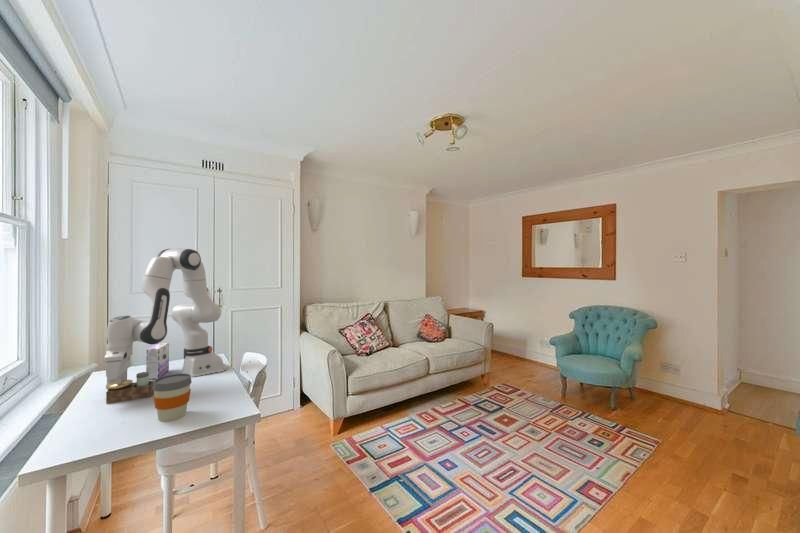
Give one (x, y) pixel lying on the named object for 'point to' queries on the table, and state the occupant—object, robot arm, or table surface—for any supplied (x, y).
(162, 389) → the reusable coffee cup
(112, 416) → the table surface
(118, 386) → the gold rounded dome
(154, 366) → the candy box
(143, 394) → the housing
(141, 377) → the cartridge
